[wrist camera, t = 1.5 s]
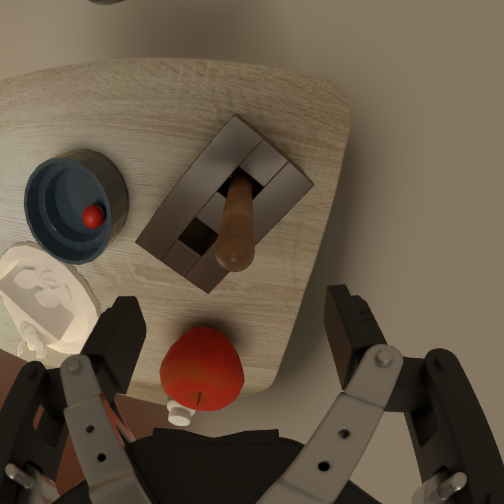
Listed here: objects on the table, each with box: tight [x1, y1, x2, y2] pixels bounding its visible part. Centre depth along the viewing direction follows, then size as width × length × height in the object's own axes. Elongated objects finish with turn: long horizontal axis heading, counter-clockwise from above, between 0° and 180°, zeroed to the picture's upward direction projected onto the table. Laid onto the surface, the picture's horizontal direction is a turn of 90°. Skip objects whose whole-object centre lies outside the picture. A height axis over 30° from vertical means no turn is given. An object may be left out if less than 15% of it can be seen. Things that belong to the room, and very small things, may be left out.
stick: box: [215, 166, 255, 272], centre depth 25 cm, size 2×2×22 cm
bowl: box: [24, 149, 128, 265], centre depth 33 cm, size 14×14×6 cm
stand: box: [135, 113, 314, 294], centre depth 33 cm, size 10×17×8 cm, turn 139°
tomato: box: [82, 205, 105, 229], centre depth 35 cm, size 3×3×3 cm
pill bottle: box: [167, 397, 196, 426], centre depth 49 cm, size 5×5×10 cm
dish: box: [0, 242, 101, 359], centre depth 40 cm, size 25×25×11 cm
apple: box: [160, 327, 245, 411], centre depth 41 cm, size 12×12×14 cm
